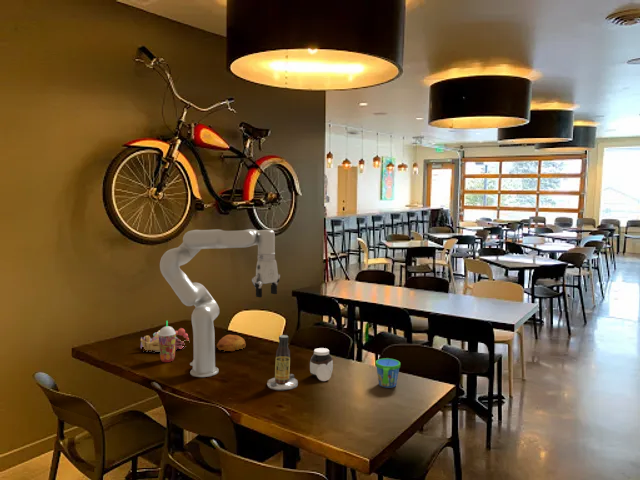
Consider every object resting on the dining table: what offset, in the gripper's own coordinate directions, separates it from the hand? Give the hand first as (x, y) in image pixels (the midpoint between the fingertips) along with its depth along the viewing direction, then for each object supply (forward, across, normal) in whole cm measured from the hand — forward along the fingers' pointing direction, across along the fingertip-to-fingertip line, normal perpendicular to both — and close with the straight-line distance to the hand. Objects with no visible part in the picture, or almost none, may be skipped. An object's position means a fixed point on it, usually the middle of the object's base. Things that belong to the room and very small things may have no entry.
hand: (266, 295), depth 214 cm
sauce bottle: (+35, -5, -14) cm, 38 cm away
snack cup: (+36, +22, -50) cm, 66 cm away
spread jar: (+37, +13, -22) cm, 45 cm away
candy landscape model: (+37, -3, +73) cm, 82 cm away
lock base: (+36, -5, -14) cm, 39 cm away
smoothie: (+36, -16, +52) cm, 66 cm away
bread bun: (+37, +17, +43) cm, 59 cm away
